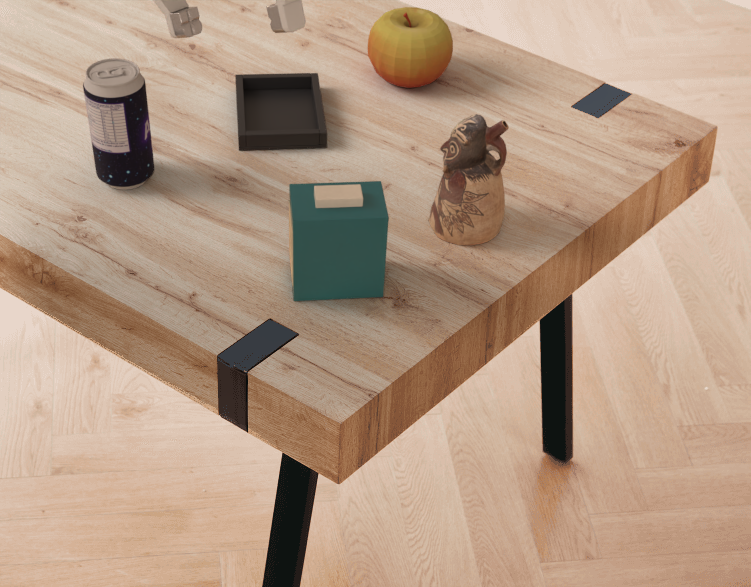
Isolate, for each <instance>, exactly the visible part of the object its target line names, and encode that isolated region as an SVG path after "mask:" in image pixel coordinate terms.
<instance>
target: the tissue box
mask: <svg viewBox="0 0 751 587" xmlns="http://www.w3.org/2000/svg"><path fill="white" fill-rule="evenodd" d="M288 188H289V189H288V192H289V193H288V194H289V198H288V256H289V268H290V269H289V270H290V278H291V288H292V297H293V298H292V300H293V302H306V301H327V300H348V299H351V300H352V299H369V298H370V299H373V298H384V293H385V277H386V265H387V264H386V263H387V251H388V250H387V249H388V235H389V234H388V232H389V219H390V217H389V212H388V207H387V202H386V199H385V193H384V188H383V183H382V181H381V180H374V181H373V180H369V181H343V182H341V181H339V182H338V181H337V182H311V183H309V182H308V183H289V184H288Z"/></svg>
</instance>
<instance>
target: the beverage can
mask: <svg viewBox="0 0 751 587" xmlns="http://www.w3.org/2000/svg"><path fill="white" fill-rule="evenodd" d="M82 83H83V84H82V89H83V95H84V102H85V109H86V115H87V121H88V122H87V123H88V128H89V135H90V141H91V147H92V153H93V160H94V168H95V173H96V177H97V178H98V179H99V180H100V181H101V182H102V183H104V184H106V185H108V186H109V187H111V188H113V189H116V190H123V191H125V190H133V189H136V188H139V187H141V186H142V185H143V184H145V183H146V182H147V181H148V180H149V179H150V178H151V177H152V176H153V174H154V173H155V158H154V150H153V149H154V148H153V141H152V132H151V122H150V114H149V113H150V112H149V103H148V95H147V85H146V80H145V77H144V76H143V74H142V72H141V70H140V67H139V66H138V64H137V63H135V62H134V61H133V60H130V59H125V58H119V57H118V58H117V57H112V58H104V59H100V60H97V61H95V62H93V63H92V64H90V65H89V66H88V67H87V68H86V70H85V78H84V80H83V82H82Z"/></svg>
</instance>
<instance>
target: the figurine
mask: <svg viewBox="0 0 751 587" xmlns="http://www.w3.org/2000/svg"><path fill="white" fill-rule="evenodd" d="M508 130H509V125H508V123H507V122H506V120H504V119H503V120H500V121H498V122H497V123H495V124H494V125H492V126H489V125H488V124H487V122H486V119H485V118H484V116H482V115H481V114H478V113H476V114H473V115H470V116H468V117H466V118H463V119H462V120H460V122H458V123H457V124H456V126H454V128H453V129H452V131H451V132H450V136H449V138H448V140H446V141H445V142H444V143H443V144H442V145H441V146H440V148H439V149H440V150H439V151H441V152H442V154H443V157H442V165H443V166H442V169H441V170H442V171H441V172H442V176H441V177H440V181H439V185H438V188H437V192H436V195H435V197H434V199H433V202H432V205H431V206H430V213H429V217H428V220H427V221H428V223H429V225H430V226H431V230H433V232H434V234H435V235H436V237H437V238H439V239H440V240H442V241H444V242H447V243H449V244H453V245H457V246H474V245H481V244H484V243H485V244H486V243H488V242H489V241H492V240H494V239H495V238H496V237H497V236H498V235H499V233H500V232H501V229H502V226H503V223H504V219H505V212H506V202H505V201H506V199H505V198H506V197H505V187H504V178H503V173H502V169H503V168H504V166H505V164H506V161H507V154H508V151H507V144H506V143H505V140H504V139H503V137H502V135H503V134H504V133H506V132H507V131H508ZM491 151H493V152H496V153H497V154H498V156H499V158H498V159H496V158H495V157H494V155H493V154H492V153H491Z"/></svg>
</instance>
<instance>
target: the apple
mask: <svg viewBox="0 0 751 587" xmlns="http://www.w3.org/2000/svg"><path fill="white" fill-rule="evenodd" d="M453 51H454V40H453V36H452V32H451V29H450V28H449V25H448V24H447V23H446V22H445V20H444V19H443V18H442V17H441V16H440V15H439V14H437V13H436V12H433V11H432V10H429V9H426V8H421V7H415V6H405V7H399V8H398V7H397V8H393V9H391V10H388V11H386V12H384V13H383V14H382V15H381V16H380V17H379V18H377V19H376V21H375V22H373V25H372V26H371V29H370V30H369V34H368V39H367V57H368V59H369V61H370V63H371V65H372V67H373V69H374V71H375V73H376V74H377V75H378V76H379V77H380V78H382V79H383V80H384V81H386V82H387V83H389V84H391V85H394V86H395V87H400V88H406V89H407V88H408V89H410V88H421V87H424V86H428V85H430V84H432V83H434V82H435V81H436V80H438V79H439V78H440V77H442V75H443V74H444V73H445V71H446V70H447V68H448V67H449V65H450V62H451V61H452V58H453V56H452V55H453Z"/></svg>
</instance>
